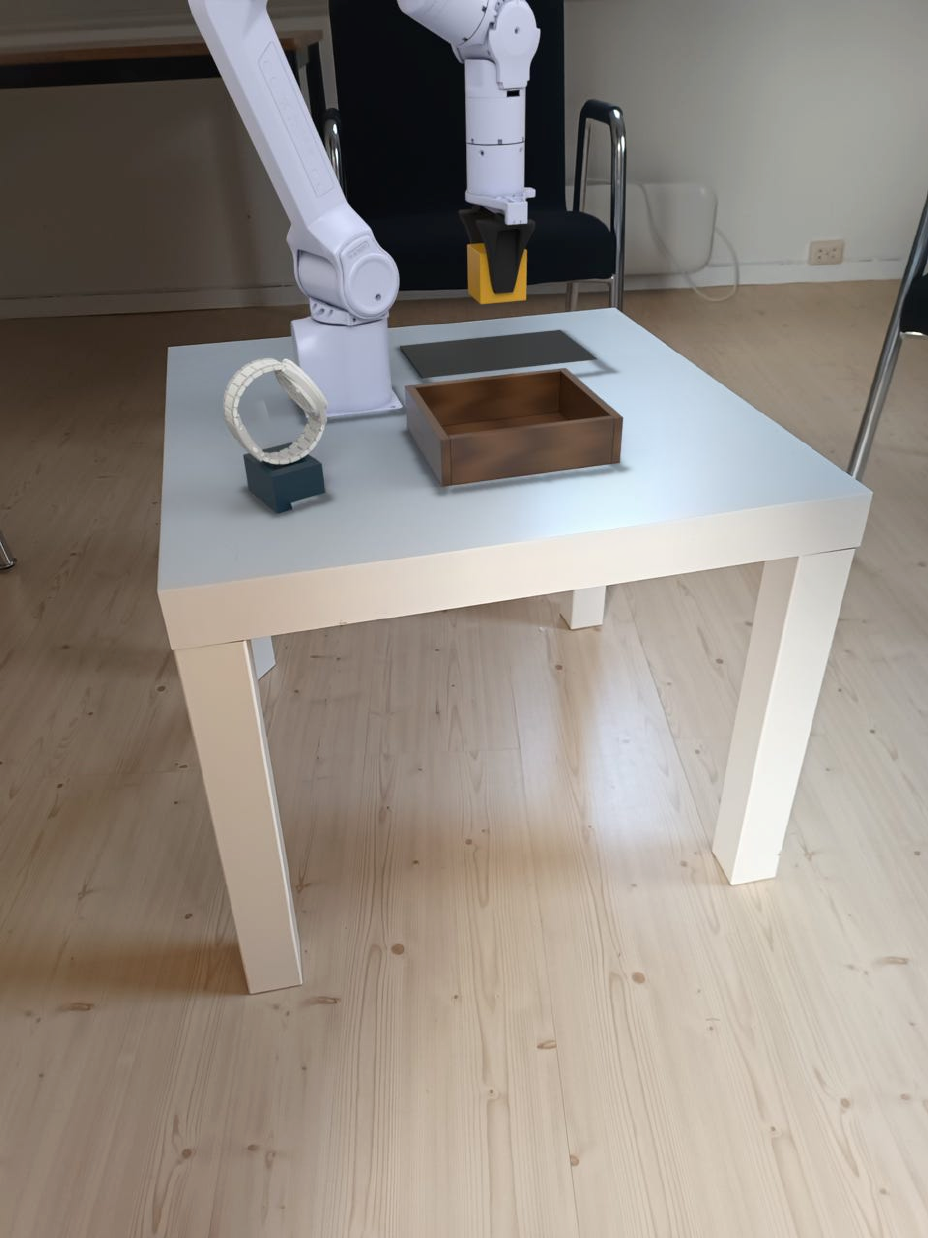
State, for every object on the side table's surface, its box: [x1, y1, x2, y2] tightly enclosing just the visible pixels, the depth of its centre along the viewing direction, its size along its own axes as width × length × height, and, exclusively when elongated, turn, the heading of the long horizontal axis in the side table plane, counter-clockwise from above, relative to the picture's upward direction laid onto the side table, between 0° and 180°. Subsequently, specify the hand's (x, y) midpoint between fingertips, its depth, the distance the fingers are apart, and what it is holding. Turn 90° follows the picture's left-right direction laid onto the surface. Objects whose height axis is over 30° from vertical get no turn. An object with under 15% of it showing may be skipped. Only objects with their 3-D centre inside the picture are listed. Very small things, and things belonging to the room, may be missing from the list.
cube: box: [466, 243, 528, 305], centre depth 97 cm, size 5×5×5 cm
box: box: [404, 367, 624, 488], centre depth 81 cm, size 16×14×5 cm
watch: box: [222, 357, 328, 514], centre depth 73 cm, size 6×8×11 cm
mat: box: [399, 329, 598, 379], centre depth 104 cm, size 20×16×1 cm
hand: (495, 286), depth 97 cm, fingers closed on cube, 5 cm apart
